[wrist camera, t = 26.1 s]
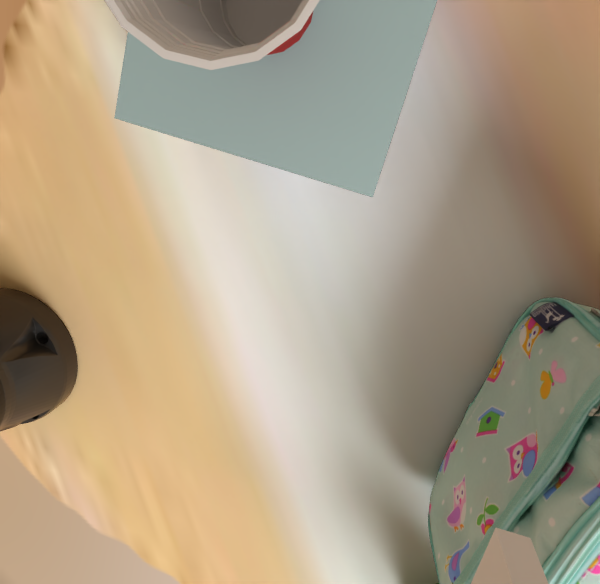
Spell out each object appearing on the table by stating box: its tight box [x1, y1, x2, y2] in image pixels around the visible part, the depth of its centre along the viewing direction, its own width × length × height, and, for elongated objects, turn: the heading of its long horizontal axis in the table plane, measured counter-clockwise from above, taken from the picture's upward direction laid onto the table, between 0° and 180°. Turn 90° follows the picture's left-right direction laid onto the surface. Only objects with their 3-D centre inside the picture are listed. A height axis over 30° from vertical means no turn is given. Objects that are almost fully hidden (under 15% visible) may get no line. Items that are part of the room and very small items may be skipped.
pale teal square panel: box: [115, 0, 437, 197], centre depth 30 cm, size 19×18×1 cm
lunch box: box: [428, 297, 600, 584], centre depth 36 cm, size 27×10×21 cm, turn 161°
